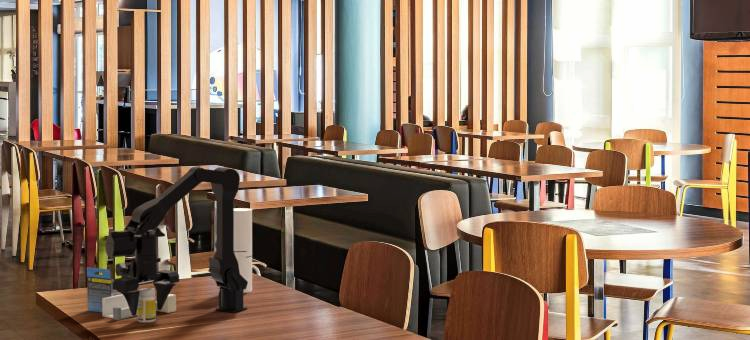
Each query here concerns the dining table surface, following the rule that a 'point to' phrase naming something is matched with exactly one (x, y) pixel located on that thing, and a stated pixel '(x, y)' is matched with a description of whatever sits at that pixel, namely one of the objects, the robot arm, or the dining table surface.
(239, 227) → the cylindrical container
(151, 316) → the supplement bottle
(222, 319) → the dining table surface
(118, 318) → the white bracket
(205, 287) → the dining table surface
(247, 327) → the dining table surface
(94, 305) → the label tape cartridge
